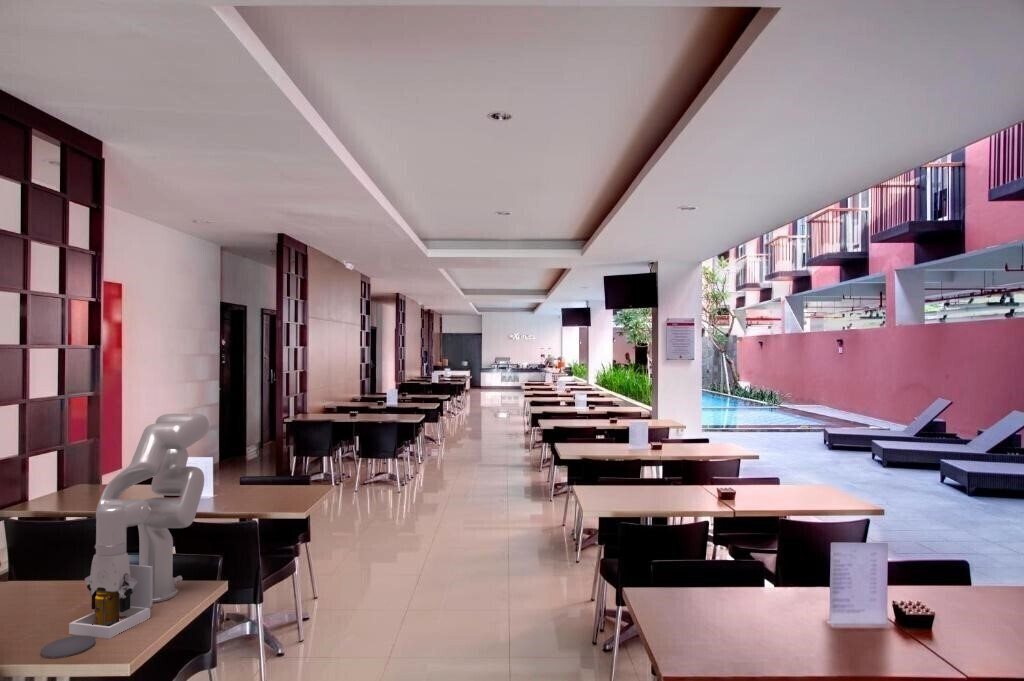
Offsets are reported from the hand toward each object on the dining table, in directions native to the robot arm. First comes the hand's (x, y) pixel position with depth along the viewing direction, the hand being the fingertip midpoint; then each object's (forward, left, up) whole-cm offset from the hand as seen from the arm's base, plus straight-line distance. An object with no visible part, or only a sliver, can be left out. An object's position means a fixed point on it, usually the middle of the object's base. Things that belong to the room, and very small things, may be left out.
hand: (110, 609), depth 190 cm
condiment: (0, 0, -5) cm, 5 cm away
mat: (+14, +1, -5) cm, 15 cm away
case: (0, 0, -5) cm, 5 cm away
